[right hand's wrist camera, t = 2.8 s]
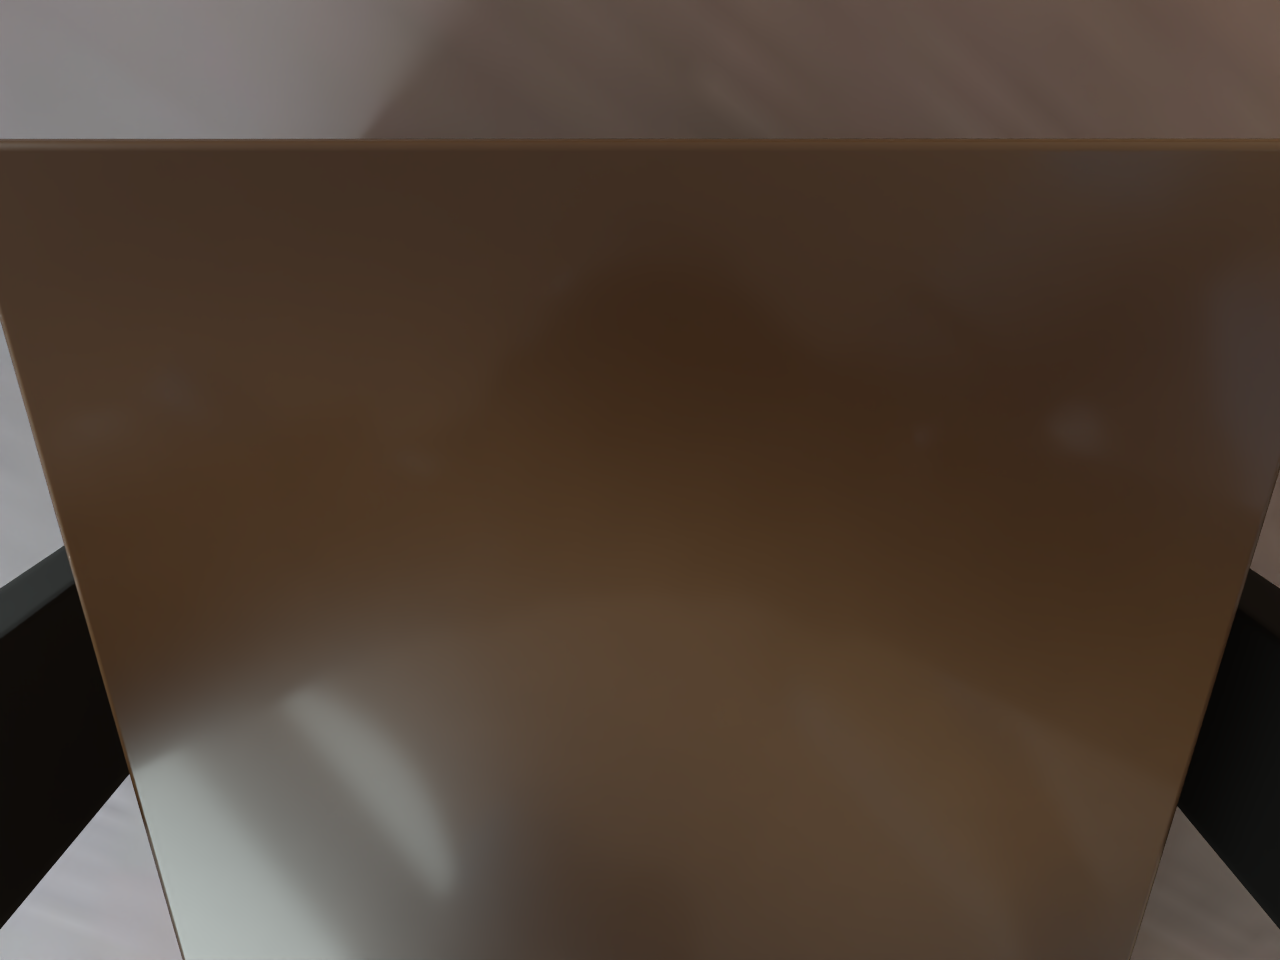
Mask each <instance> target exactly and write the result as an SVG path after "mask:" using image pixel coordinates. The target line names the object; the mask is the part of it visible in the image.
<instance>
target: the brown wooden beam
mask: <svg viewBox="0 0 1280 960" xmlns="http://www.w3.org/2000/svg"><path fill="white" fill-rule="evenodd" d="M0 321H1V324H2V328H3V332H4V335H5V339H6V342H7V346H8V349H9V353H10V356H11V360H12V363H13V367H14V370H15V374H16V377H17V381H18V384H19V388H20V391H21V395H22V398H23V402H24V405H25V409H26V412H27V416H28V419H29V423H30V426H31V430H32V433H33V437H34V440H35V444H36V447H37V451H38V454H39V458H40V461H41V465H42V468H43V472H44V475H45V479H46V482H47V486H48V489H49V493H50V496H51V500H52V503H53V507H54V510H55V514H56V517H57V521H58V524H59V528H60V531H61V535H62V538H63V542H64V545H65V549H66V552H67V556H68V559H69V563H70V566H71V570H72V573H73V577H74V580H75V584H76V587H77V591H78V594H79V598H80V601H81V605H82V608H83V612H84V615H85V619H86V623H87V626H88V630H89V633H90V637H91V640H92V644H93V647H94V651H95V654H96V658H97V661H98V665H99V668H100V672H101V675H102V679H103V682H104V686H105V689H106V693H107V696H108V700H109V703H110V707H111V710H112V714H113V717H114V721H115V724H116V728H117V731H118V735H119V738H120V742H121V745H122V749H123V752H124V756H125V759H126V763H127V766H128V770H129V773H130V777H131V780H132V784H133V787H134V791H135V794H136V798H137V801H138V805H139V808H140V812H141V815H142V819H143V822H144V826H145V829H146V833H147V836H148V840H149V843H150V847H151V850H152V854H153V857H154V861H155V864H156V868H157V871H158V875H159V878H160V882H161V885H162V889H163V892H164V896H165V899H166V903H167V906H168V910H169V914H170V917H171V921H172V924H173V928H174V931H175V935H176V938H177V942H178V945H179V949H180V952H181V956H182V959H183V960H1130V958H1131V955H1132V951H1133V948H1134V945H1135V942H1136V938H1137V935H1138V932H1139V928H1140V925H1141V922H1142V919H1143V915H1144V912H1145V909H1146V905H1147V902H1148V899H1149V896H1150V892H1151V889H1152V886H1153V883H1154V879H1155V876H1156V873H1157V869H1158V866H1159V863H1160V860H1161V856H1162V853H1163V850H1164V847H1165V843H1166V840H1167V837H1168V833H1169V830H1170V827H1171V824H1172V820H1173V817H1174V814H1175V811H1176V807H1177V804H1178V801H1179V797H1180V794H1181V791H1182V788H1183V784H1184V781H1185V778H1186V775H1187V771H1188V768H1189V765H1190V761H1191V758H1192V755H1193V752H1194V748H1195V745H1196V742H1197V739H1198V735H1199V732H1200V729H1201V725H1202V722H1203V719H1204V716H1205V712H1206V709H1207V706H1208V702H1209V699H1210V696H1211V693H1212V689H1213V686H1214V683H1215V680H1216V676H1217V673H1218V670H1219V666H1220V663H1221V660H1222V657H1223V653H1224V650H1225V647H1226V644H1227V640H1228V637H1229V634H1230V630H1231V627H1232V624H1233V621H1234V617H1235V614H1236V611H1237V608H1238V604H1239V601H1240V598H1241V594H1242V591H1243V588H1244V585H1245V581H1246V578H1247V575H1248V572H1249V568H1250V565H1251V562H1252V558H1253V555H1254V552H1255V549H1256V545H1257V542H1258V539H1259V536H1260V532H1261V529H1262V526H1263V522H1264V519H1265V516H1266V513H1267V509H1268V506H1269V503H1270V500H1271V496H1272V493H1273V490H1274V486H1275V483H1276V480H1277V477H1278V473H1279V470H1280V139H0Z"/></svg>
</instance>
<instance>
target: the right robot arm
mask: <svg viewBox="0 0 1280 960" xmlns="http://www.w3.org/2000/svg"><path fill="white" fill-rule="evenodd" d="M129 774H130V773H129V770H128V766H127V763H126V759H125V756H124V752H123V749H122V745H121V742H120V738H119V735H118V731H117V728H116V724H115V721H114V717H113V714H112V710H111V707H110V703H109V700H108V696H107V693H106V689H105V686H104V682H103V679H102V675H101V672H100V668H99V665H98V661H97V658H96V654H95V651H94V647H93V644H92V640H91V637H90V633H89V630H88V626H87V623H86V619H85V615H84V612H83V608H82V605H81V601H80V598H79V594H78V591H77V587H76V584H75V580H74V577H73V573H72V570H71V566H70V563H69V559H68V556H67V552H66V549H65V545H64V546H63V547H61V548H60V549H58V550H57V551H56V552H54V553H53V554H51V555H50V556H48V557H47V558H45V559H44V560H42V561H41V562H39V563H38V564H36V565H35V566H33V567H32V568H30V569H29V570H27V571H26V572H24V573H23V574H21V575H20V576H18V577H17V578H15V579H14V580H12V581H11V582H9V583H8V584H6V585H5V586H3V587H2V588H0V929H1V928H2V927H3V925H4V924H5V923H6V922H7V921H8V919H9V918H10V917H11V916H12V914H13V913H14V912H15V911H16V910H17V908H18V907H19V906H20V905H21V904H22V902H23V901H24V900H25V899H26V898H27V896H28V895H29V894H30V893H31V892H32V890H33V889H34V888H35V887H36V886H37V884H38V883H39V882H40V881H41V880H42V878H43V877H44V876H45V875H46V874H47V872H48V871H49V870H50V869H51V868H52V866H53V865H54V864H55V863H56V862H57V860H58V859H59V858H60V857H61V856H62V854H63V853H64V852H65V851H66V850H67V848H68V847H69V846H70V845H71V843H72V842H73V841H74V840H75V839H76V837H77V836H78V835H79V834H80V833H81V831H82V830H83V829H84V828H85V827H86V825H87V824H88V823H89V822H90V821H91V819H92V818H93V817H94V816H95V815H96V813H97V812H98V811H99V810H100V809H101V807H102V806H103V805H104V804H105V803H106V801H107V800H108V799H109V798H110V797H111V795H112V794H113V793H114V792H115V791H116V789H117V788H118V787H119V786H120V785H121V783H122V782H123V781H124V780H125V779H126V777H127V776H128V775H129ZM1177 806H1178V807H1179V809H1180V810H1181V811H1182V812H1183V813H1184V815H1185V816H1186V817H1187V818H1188V819H1189V821H1190V822H1191V823H1192V824H1193V825H1194V827H1195V828H1196V829H1197V830H1198V831H1199V833H1200V834H1201V835H1202V836H1203V837H1204V839H1205V840H1206V841H1207V842H1208V843H1209V845H1210V846H1211V847H1212V848H1213V849H1214V851H1215V852H1216V853H1217V854H1218V855H1219V857H1220V858H1221V859H1222V860H1223V862H1224V863H1225V864H1226V865H1227V866H1228V868H1229V869H1230V870H1231V871H1232V872H1233V874H1234V875H1235V876H1236V877H1237V878H1238V880H1239V881H1240V882H1241V883H1242V884H1243V886H1244V887H1245V888H1246V889H1247V890H1248V892H1249V893H1250V894H1251V895H1252V896H1253V898H1254V899H1255V900H1256V901H1257V902H1258V904H1259V905H1260V906H1261V907H1262V908H1263V910H1264V911H1265V912H1266V913H1267V914H1268V916H1269V917H1270V918H1271V919H1272V920H1273V922H1274V923H1275V924H1276V925H1277V926H1278V928H1279V929H1280V588H1278V587H1277V586H1275V585H1274V584H1272V583H1271V582H1269V581H1268V580H1266V579H1265V578H1263V577H1262V576H1260V575H1259V574H1257V573H1256V572H1254V571H1253V570H1251V569H1250V568H1249V572H1248V575H1247V578H1246V581H1245V585H1244V588H1243V591H1242V594H1241V598H1240V601H1239V604H1238V608H1237V611H1236V614H1235V617H1234V621H1233V624H1232V627H1231V630H1230V634H1229V637H1228V640H1227V644H1226V647H1225V650H1224V653H1223V657H1222V660H1221V663H1220V666H1219V670H1218V673H1217V676H1216V680H1215V683H1214V686H1213V689H1212V693H1211V696H1210V699H1209V702H1208V706H1207V709H1206V712H1205V716H1204V719H1203V722H1202V725H1201V729H1200V732H1199V735H1198V739H1197V742H1196V745H1195V748H1194V752H1193V755H1192V758H1191V761H1190V765H1189V768H1188V771H1187V775H1186V778H1185V781H1184V784H1183V788H1182V791H1181V794H1180V797H1179V801H1178V804H1177Z"/></svg>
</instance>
